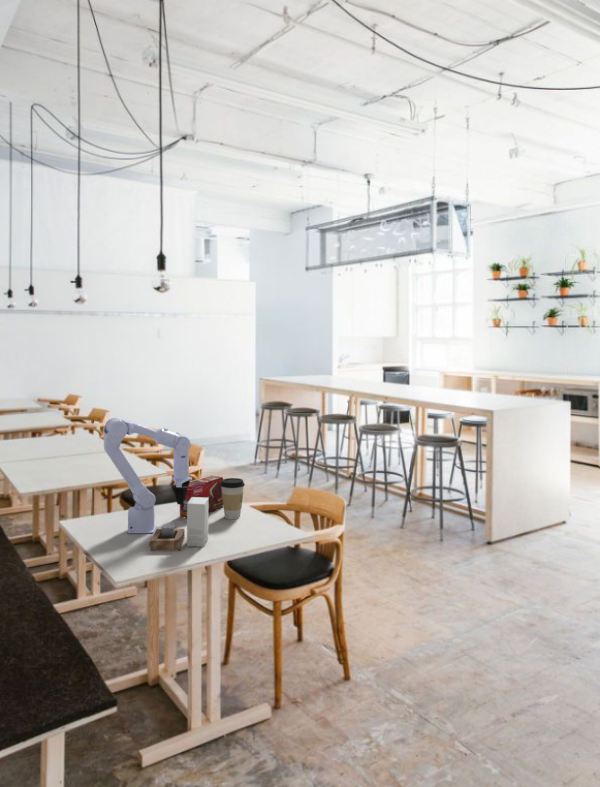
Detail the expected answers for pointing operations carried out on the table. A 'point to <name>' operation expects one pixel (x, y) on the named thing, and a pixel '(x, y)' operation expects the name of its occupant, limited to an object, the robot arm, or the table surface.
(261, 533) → the table surface
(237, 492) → the coffee cup
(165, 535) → the tall grey block
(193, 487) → the ice cream box
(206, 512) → the skincare box
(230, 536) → the table surface
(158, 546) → the well block
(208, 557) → the table surface
